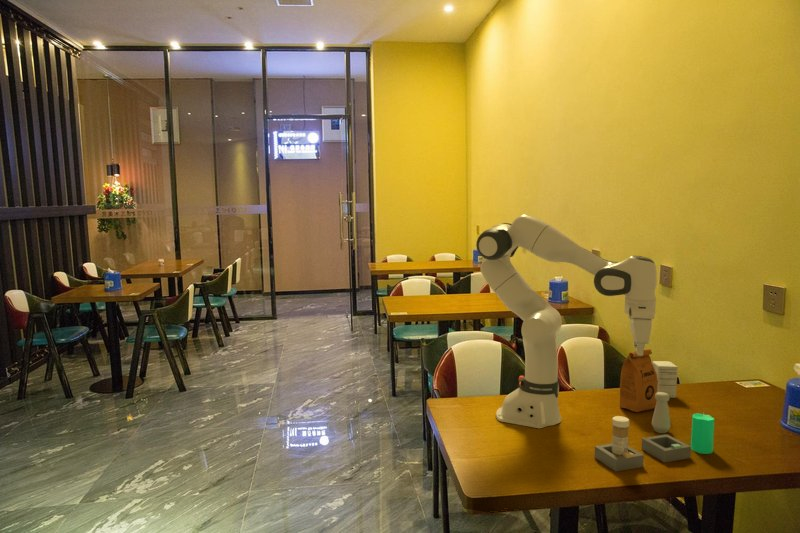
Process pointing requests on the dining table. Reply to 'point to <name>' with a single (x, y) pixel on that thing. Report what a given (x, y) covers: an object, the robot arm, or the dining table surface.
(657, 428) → the salt shaker
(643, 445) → the grey square tray
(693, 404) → the dining table surface
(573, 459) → the dining table surface
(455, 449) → the dining table surface
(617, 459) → the gray open box
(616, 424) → the sprinkles bottle
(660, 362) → the supplement box
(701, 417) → the candle
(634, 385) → the coffee package
